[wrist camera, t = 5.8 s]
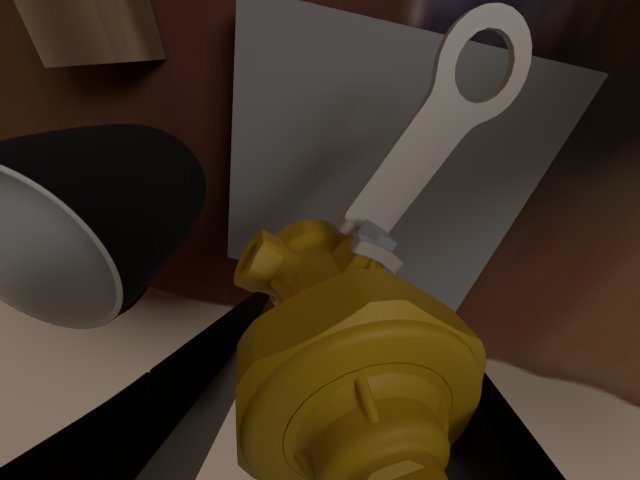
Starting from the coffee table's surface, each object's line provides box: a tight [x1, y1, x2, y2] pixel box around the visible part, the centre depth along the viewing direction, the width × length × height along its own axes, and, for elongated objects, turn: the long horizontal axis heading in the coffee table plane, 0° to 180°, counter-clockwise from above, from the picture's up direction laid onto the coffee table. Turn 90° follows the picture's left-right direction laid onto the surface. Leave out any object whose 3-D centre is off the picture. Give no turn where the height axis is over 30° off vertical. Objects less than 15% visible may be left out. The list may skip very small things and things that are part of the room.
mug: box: [0, 124, 206, 329], centre depth 18 cm, size 12×9×10 cm
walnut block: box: [14, 0, 166, 68], centre depth 15 cm, size 4×4×4 cm
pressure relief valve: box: [234, 3, 532, 480], centre depth 8 cm, size 6×12×10 cm, turn 147°
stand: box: [227, 0, 608, 312], centre depth 18 cm, size 16×15×2 cm
